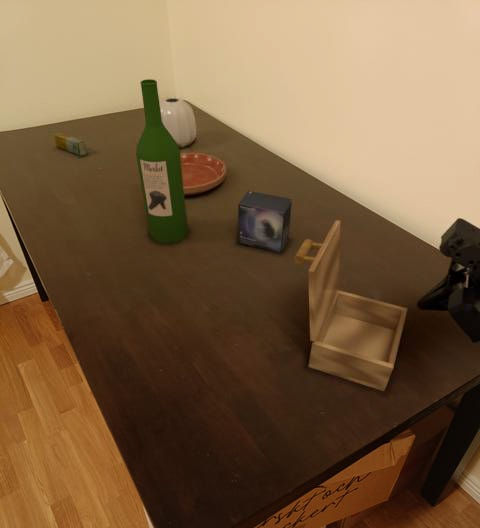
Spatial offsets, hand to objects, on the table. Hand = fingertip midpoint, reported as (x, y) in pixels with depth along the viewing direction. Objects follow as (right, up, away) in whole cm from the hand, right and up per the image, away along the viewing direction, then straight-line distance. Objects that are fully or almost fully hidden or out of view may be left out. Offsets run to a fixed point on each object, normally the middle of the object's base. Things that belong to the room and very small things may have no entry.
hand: (418, 306), depth 64 cm
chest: (-6, -7, +11) cm, 14 cm away
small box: (-21, +16, +35) cm, 44 cm away
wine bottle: (-44, +18, +38) cm, 61 cm away
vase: (-47, +56, +77) cm, 106 cm away
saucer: (-42, +37, +57) cm, 80 cm away
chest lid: (-13, +4, +4) cm, 14 cm away
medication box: (-80, +52, +72) cm, 120 cm away
